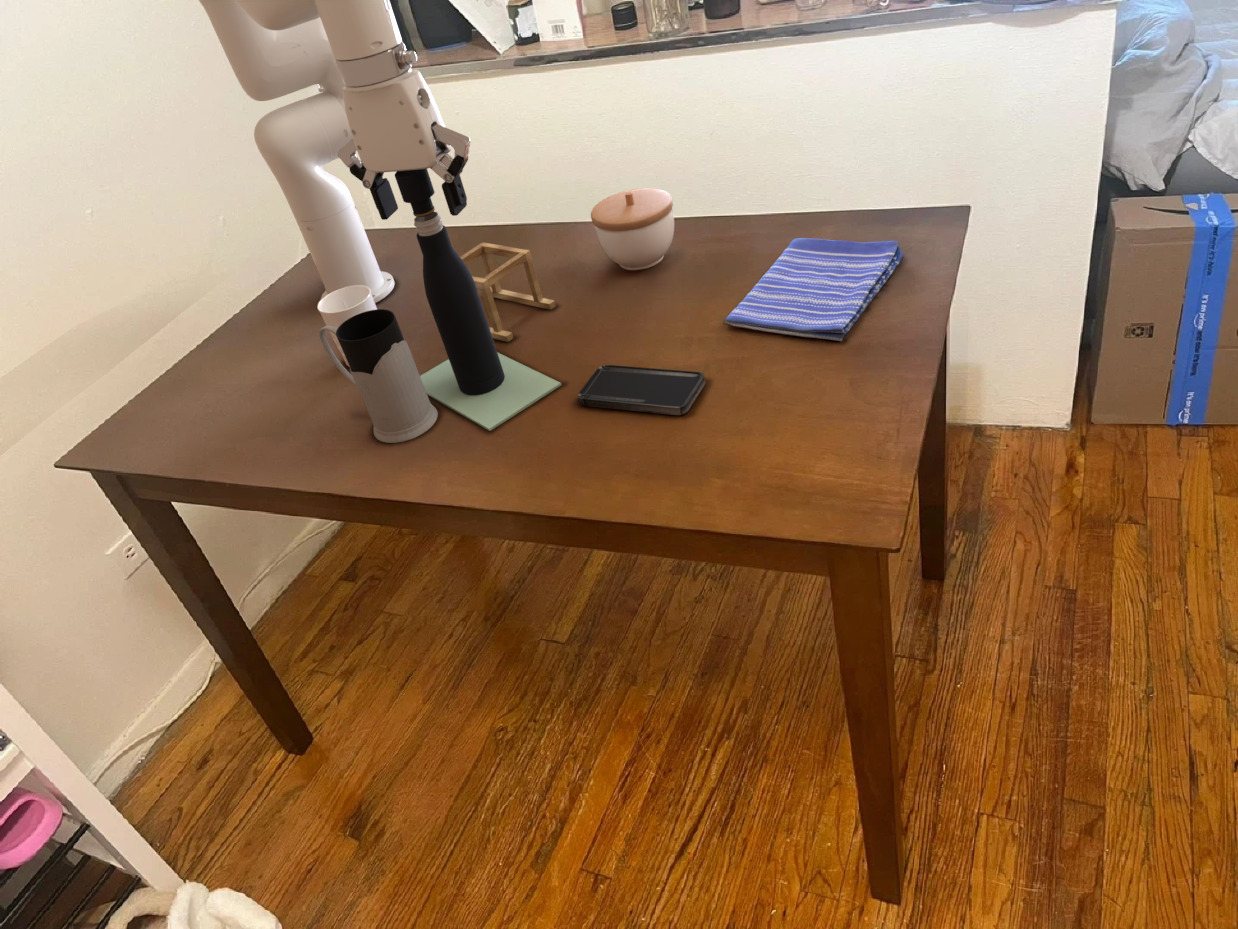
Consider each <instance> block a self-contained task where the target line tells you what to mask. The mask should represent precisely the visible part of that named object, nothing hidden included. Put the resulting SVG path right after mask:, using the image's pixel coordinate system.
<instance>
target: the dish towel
mask: <svg viewBox="0 0 1238 929" xmlns="http://www.w3.org/2000/svg"><path fill="white" fill-rule="evenodd" d="M901 250H902V249H901V247H900V243H899V241H897V240H882V241H869V242H866V241H865V242H861V241H853V240H852V241H851V240H838V239H834V240H833V239H824V238H808V237H799V238H794V239H792V241H791V242H790V243H789V244H788V246H786V248H785V249H784V250H783V252H782V254H781V255H780V256H779V257H778V258H777V259H776V260H775V262H774V263H773V264H772V265H771V267H770V268H769V269H768V270H767V271H766V272H765V274H763V275H762V276H761V278H760V279H759V280H758V281H757V283H755V285H754V286H753V288H752V289H751V290H750V291H749V292H748V293H747V294H746V295H745V297H744V298H742V301H740V302H738V305H737V306H736V307H734V309H732V311H730V313H729V315H727V316H726V317H725V319H724V320H723V323H725V324H726V325H729V326H732V327H736V328H741V329H747V330H752V331H759V332H765V333H773V334H781V335H787V336H795V337H801V338H811V339H821V340H828V341H834V342H835V341H836V342H843V340H844V337H845V336H846V335H847V333H848V332H849V331H850V329H851V328H852V327H853V326H854V325H855V323H856V322H857V321H858V319H859V318H860V317H861V315H862V314H863V313H864V312H865V310H866V309H867V307H868V305H870V303H871V302H872V300H873V299H874V298H875V297H876V295H877V294H878V293H879V292H880V290H881V289H882V287H883V286H884V284H886V282H888V279H889V278H890V277H891V276H892V274H893V273H894V271H895V269H896V268H897V267H898V266H899V264H900V262H901V260H902V258H903V257H904V254H905V253H904V252H901Z"/></svg>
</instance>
